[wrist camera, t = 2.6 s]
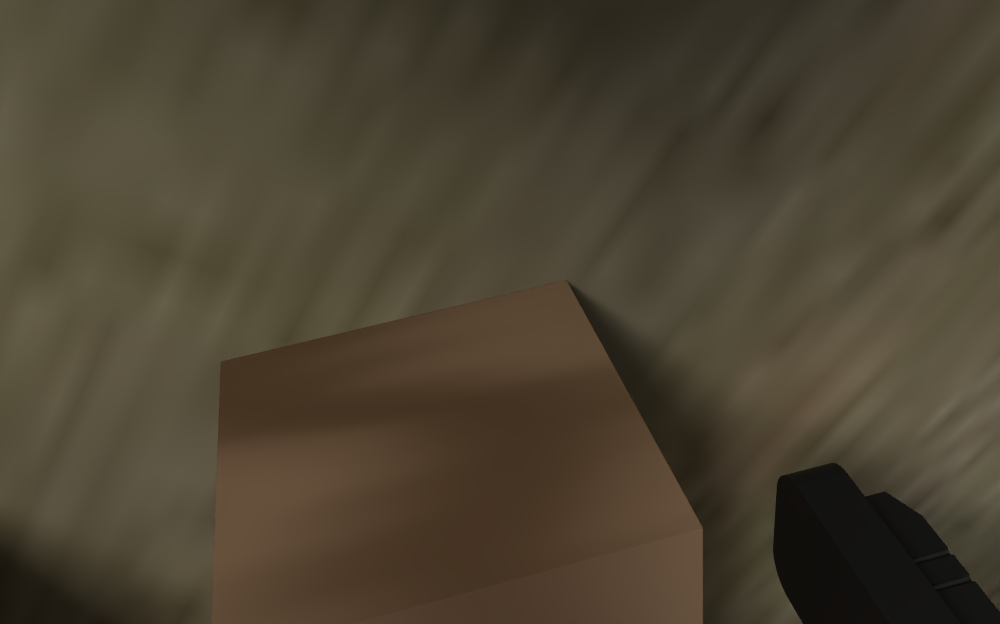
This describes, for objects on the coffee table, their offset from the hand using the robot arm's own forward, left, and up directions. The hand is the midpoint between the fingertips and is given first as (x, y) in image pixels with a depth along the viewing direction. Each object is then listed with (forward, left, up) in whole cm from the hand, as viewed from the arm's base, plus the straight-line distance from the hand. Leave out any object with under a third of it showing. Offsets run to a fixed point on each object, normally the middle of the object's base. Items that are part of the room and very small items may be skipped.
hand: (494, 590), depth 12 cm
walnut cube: (0, 0, -3) cm, 3 cm away
